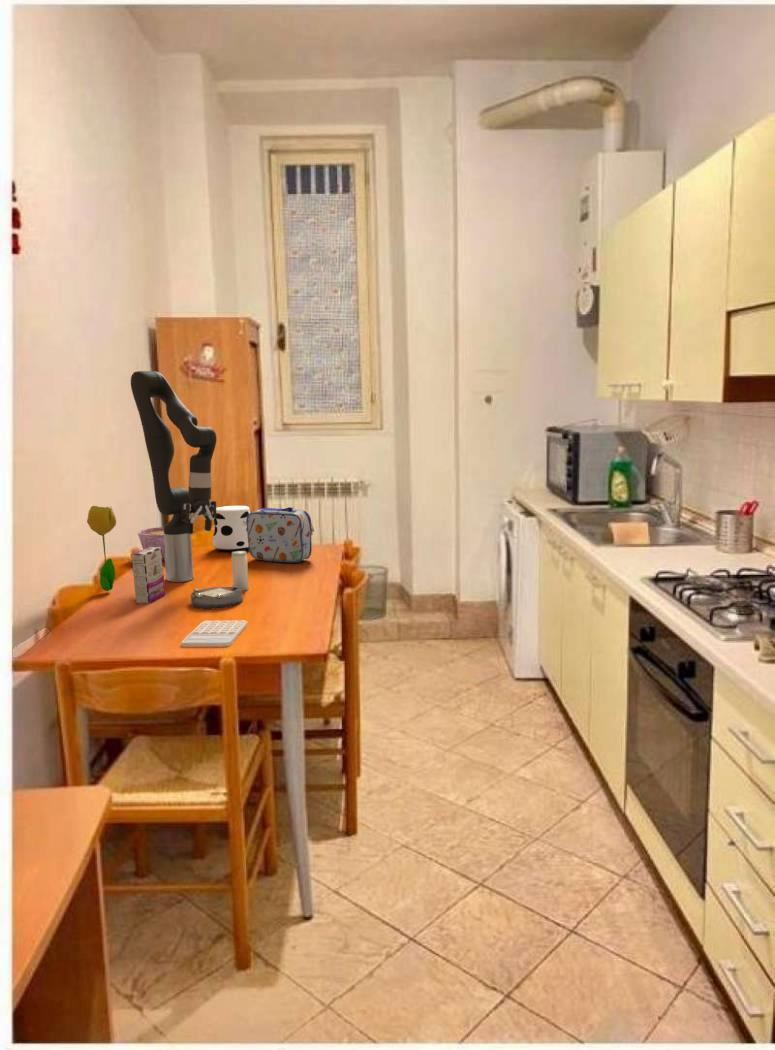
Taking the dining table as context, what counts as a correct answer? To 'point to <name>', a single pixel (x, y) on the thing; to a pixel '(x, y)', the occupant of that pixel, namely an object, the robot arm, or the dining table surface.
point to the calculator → (214, 633)
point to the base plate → (216, 597)
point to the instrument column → (240, 570)
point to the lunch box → (279, 534)
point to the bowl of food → (153, 538)
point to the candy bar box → (148, 575)
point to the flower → (103, 523)
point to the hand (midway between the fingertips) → (198, 532)
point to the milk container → (231, 528)
